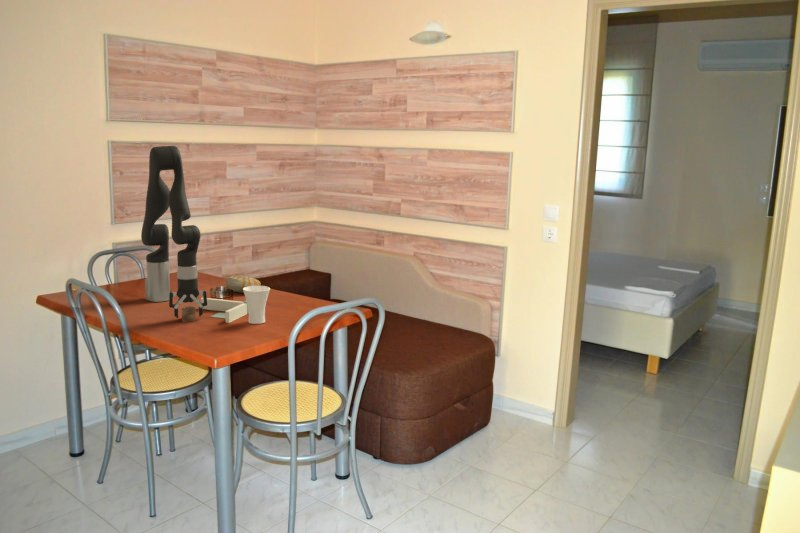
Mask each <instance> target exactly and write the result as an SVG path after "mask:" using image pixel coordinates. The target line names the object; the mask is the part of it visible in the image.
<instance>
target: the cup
mask: <svg viewBox="0 0 800 533" xmlns="http://www.w3.org/2000/svg"><path fill="white" fill-rule="evenodd" d="M270 290H271V288H270V287H269V286H267V285H266V286H265V285H260V286H248V287H244V288H243V291H244V293H243V294H244V297H245V300H247V304H248V310H249V314H248V323H249V324H254V325H259V324H263V323H266V306H267V305H266V304H267V300H268V297H269V294H270Z"/></svg>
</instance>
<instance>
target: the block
mask: <svg viewBox="0 0 800 533" xmlns="http://www.w3.org/2000/svg"><path fill="white" fill-rule="evenodd" d="M196 315H197V313H196V305H186V306H183V305H182V306H181V322H182V323H184V322H196V318H197V316H196Z"/></svg>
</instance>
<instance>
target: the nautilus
mask: <svg viewBox="0 0 800 533" xmlns="http://www.w3.org/2000/svg"><path fill="white" fill-rule="evenodd" d="M225 279H226V281H225V286H226V288H227V287H229V288H231V289H232V290H233V291H232V292H235V293H241V294H244V291H243V288H244V287H248V286H262V285H261V284H262V283H261V281H260V280H259V279H256V278H254V277H251V276H244V275H243V276H242V275H238V274H237V275H230V274H228V275H227V277H226V278H225Z"/></svg>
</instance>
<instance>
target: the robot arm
mask: <svg viewBox="0 0 800 533" xmlns="http://www.w3.org/2000/svg"><path fill="white" fill-rule="evenodd" d="M181 155H182V154H181V151H180V149H179V147H177V146H176V145H162V146H154V147H152V148H151V149H150V151H149V158H148V159H149V163H148V167H149V169H148V185H147V191H146V199H145V212H144V213H145V214H144V218H143V223H142V227H141V233H140V234H141V235H140V237H141V242H142V244H143V245H144V246H145V247H146V246H147V247H155V246H159V247H157V249H156V250H154V251H152V252H150V253H147V254H146V257H145V260H146V261H145V262H146V278H145V279H144V283H145V284H144V286H145V300H146V301H149V302H154V303H156V302H157V303H158V302H159V303H160V302H166V301H169V302H168V306H169V308H171V309H173V311H174V317H176V319H179V306H181V304H182V303H184V304H185V303H186V304H187V303H193V302H194V303H195V304H196V305H197V306H198V317H199V318H200V317H202V316H203V315H204V314H203V313H204V309H203V307H204V306H207V298H208V297H207V296H208V295H207V290H206V289H203V290H199V284H198V283H199V280H198V279H199V278H198V266H197V254H198V253H197V252H198V249H199V245H200V241H201V230H200V228H199V227H198V226H197V225H196V224H195V225H194V224H193V225H183V224H182V223H183V222H184V221H188V220H190V219H191V211H190V210H191V209H190V206H189V202H188V198H187V194H186V186H185V184H186V183H185V177H184V168H183V160H182V156H181ZM172 170H173V174H174V175H173V176H174V178H173V179H174V180H173V182H172V186H171V188H170V187H169V186H168V185H167V183H166V182H165V181H164V180H163V178H162V177H161V172H162V171H172ZM168 209H169V211H170V215H171V232H170V231H169V228H168V225H167V224H165V223H156V222H157V221H158V220H159V219H160V218H161V217H162V216H164V214H165V213H166V212H167V211H168ZM169 232H170V233H171V238H172V242H174V243H175V244H176V245H179V246H180V245H186V247H184V248H183V249H181V250H178V251H177V254H176V255H177V256H176V257H177V258H176V259H177V261H176V262H177V270H176V276H177V291H172V290H171V281H170V253H169V252H170V250H169V247H170V246H169V245H170V244H169V243H170V233H169ZM199 295H201V297H202V298H203V299H204V302H203V303H201V300H199V298H198V296H199ZM176 296H177V297H178V299H177V301H176V302H175V304H174V303H173V299H174V298H175V297H176Z"/></svg>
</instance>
